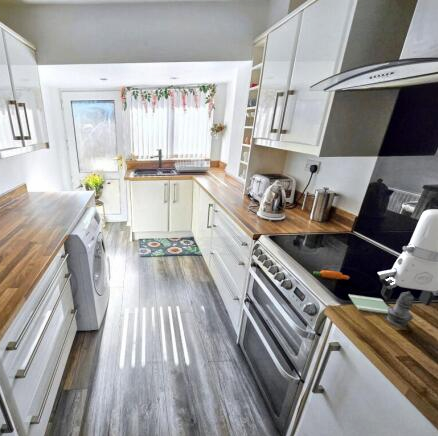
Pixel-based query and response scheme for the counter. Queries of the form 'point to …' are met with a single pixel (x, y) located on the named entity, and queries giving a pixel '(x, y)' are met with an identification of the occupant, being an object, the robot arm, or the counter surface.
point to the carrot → (331, 274)
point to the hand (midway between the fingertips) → (403, 299)
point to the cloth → (369, 304)
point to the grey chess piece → (401, 310)
